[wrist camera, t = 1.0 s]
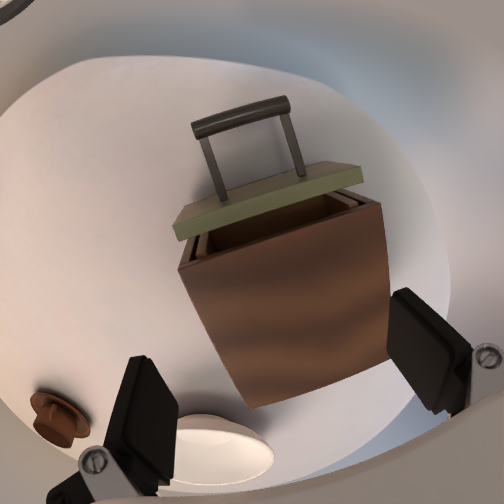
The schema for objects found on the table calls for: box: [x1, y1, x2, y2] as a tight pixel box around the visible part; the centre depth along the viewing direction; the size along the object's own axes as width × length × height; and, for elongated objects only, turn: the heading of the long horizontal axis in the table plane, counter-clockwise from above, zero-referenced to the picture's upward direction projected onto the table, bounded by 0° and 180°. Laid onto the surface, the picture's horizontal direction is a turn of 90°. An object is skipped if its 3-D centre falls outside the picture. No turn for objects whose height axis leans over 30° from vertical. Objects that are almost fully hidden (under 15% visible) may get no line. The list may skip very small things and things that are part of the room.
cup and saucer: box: [30, 393, 90, 448], centre depth 31 cm, size 12×12×6 cm
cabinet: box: [178, 189, 391, 410], centre depth 25 cm, size 16×15×9 cm
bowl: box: [171, 414, 275, 485], centre depth 33 cm, size 20×20×7 cm
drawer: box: [172, 95, 364, 259], centre depth 22 cm, size 21×13×7 cm, turn 17°
